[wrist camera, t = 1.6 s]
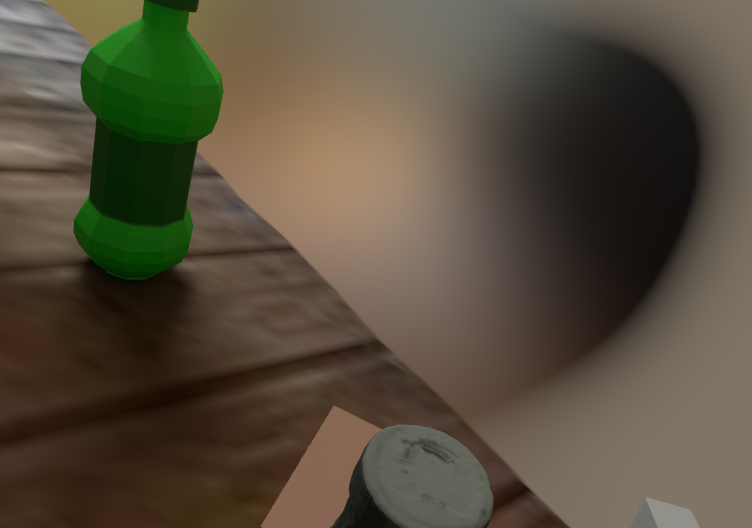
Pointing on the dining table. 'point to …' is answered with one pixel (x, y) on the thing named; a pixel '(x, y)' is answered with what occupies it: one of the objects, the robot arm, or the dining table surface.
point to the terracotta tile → (322, 474)
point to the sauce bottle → (417, 483)
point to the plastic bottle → (145, 140)
